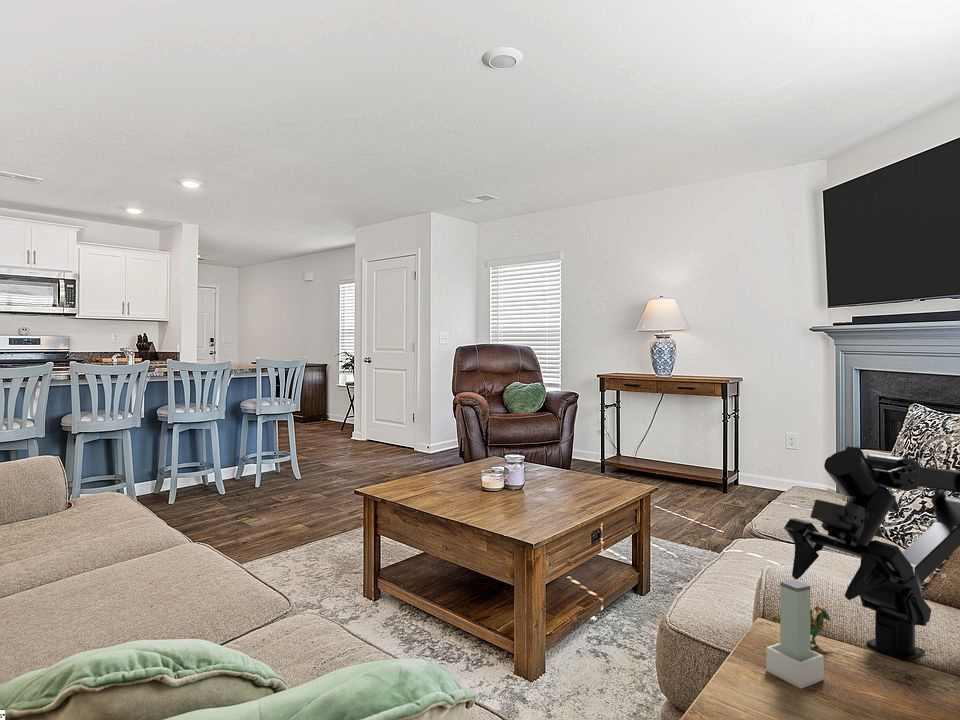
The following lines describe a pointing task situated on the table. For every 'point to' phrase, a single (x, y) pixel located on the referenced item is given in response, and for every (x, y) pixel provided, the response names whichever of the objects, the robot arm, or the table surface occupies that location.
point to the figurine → (812, 622)
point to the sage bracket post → (795, 620)
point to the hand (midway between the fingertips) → (819, 587)
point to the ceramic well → (795, 667)
